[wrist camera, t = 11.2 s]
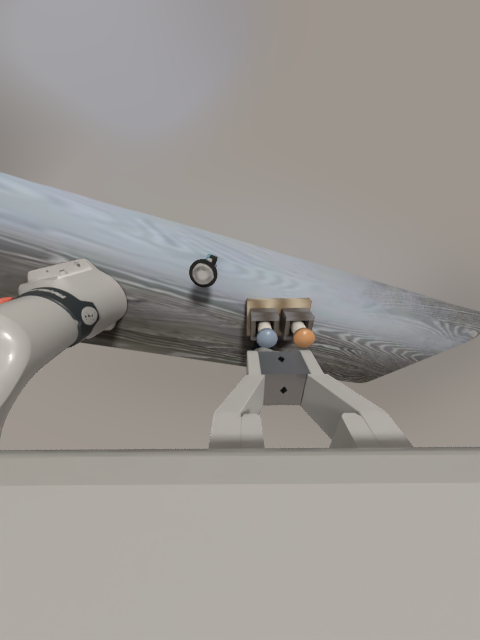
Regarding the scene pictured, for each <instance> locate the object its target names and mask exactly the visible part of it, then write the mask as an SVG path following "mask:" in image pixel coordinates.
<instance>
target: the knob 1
mask: <svg viewBox="0 0 480 640" xmlns="http://www.w3.org/2000/svg"><path fill="white" fill-rule="evenodd" d="M257 327H258V333H257V343H258V344H259V345H260V346H261V347H263V348H270V347H273V346H274V345H275V344H276V343H277V340H278V338H277V335H276V332H275V331H274V330H273V329H272V328H271V325H270V321H257Z"/></svg>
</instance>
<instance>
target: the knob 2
mask: <svg viewBox="0 0 480 640" xmlns="http://www.w3.org/2000/svg"><path fill="white" fill-rule="evenodd" d="M290 328H291V330H292V332H293V340H294V343H295V344H296V346H298V347H301V348H305V347H308V346H310V345H312V344H313V342H314V340H315V335H314V334H313V332H312V331H311V330H310V329H309V328H306V327H305V325H304V323H303V322H302V321H290Z"/></svg>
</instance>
